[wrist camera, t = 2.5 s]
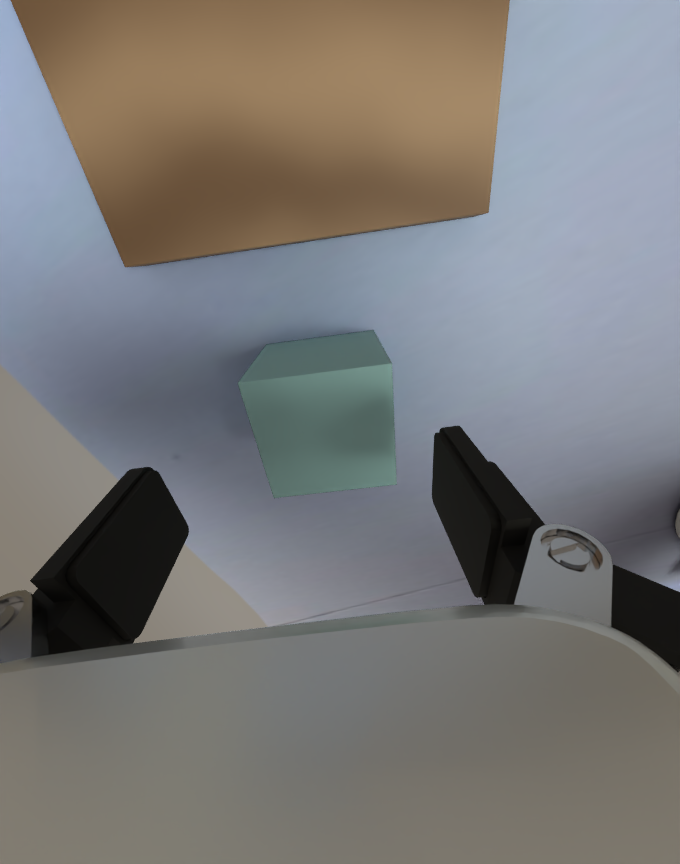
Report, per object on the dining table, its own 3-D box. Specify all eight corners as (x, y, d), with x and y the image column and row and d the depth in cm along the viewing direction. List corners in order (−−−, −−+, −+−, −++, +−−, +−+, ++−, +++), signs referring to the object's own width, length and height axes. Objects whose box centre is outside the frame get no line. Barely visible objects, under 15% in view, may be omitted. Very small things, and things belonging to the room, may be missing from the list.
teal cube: (379, 424, 20) (396, 484, 14) (289, 435, 20) (273, 498, 15) (373, 329, 17) (391, 363, 11) (266, 344, 17) (237, 383, 12)
